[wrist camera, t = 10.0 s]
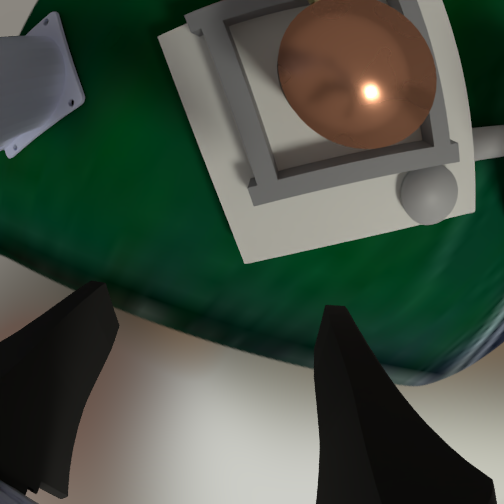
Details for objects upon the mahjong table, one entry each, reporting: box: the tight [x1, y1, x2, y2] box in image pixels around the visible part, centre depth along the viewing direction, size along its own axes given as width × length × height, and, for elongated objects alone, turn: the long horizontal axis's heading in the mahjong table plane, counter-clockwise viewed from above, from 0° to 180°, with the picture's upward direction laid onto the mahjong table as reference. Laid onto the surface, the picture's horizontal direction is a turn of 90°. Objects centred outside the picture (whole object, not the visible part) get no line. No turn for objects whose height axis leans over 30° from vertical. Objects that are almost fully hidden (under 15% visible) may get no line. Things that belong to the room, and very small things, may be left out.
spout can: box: [277, 0, 437, 149], centre depth 9 cm, size 5×6×6 cm
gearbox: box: [158, 0, 504, 264], centre depth 13 cm, size 19×14×4 cm
